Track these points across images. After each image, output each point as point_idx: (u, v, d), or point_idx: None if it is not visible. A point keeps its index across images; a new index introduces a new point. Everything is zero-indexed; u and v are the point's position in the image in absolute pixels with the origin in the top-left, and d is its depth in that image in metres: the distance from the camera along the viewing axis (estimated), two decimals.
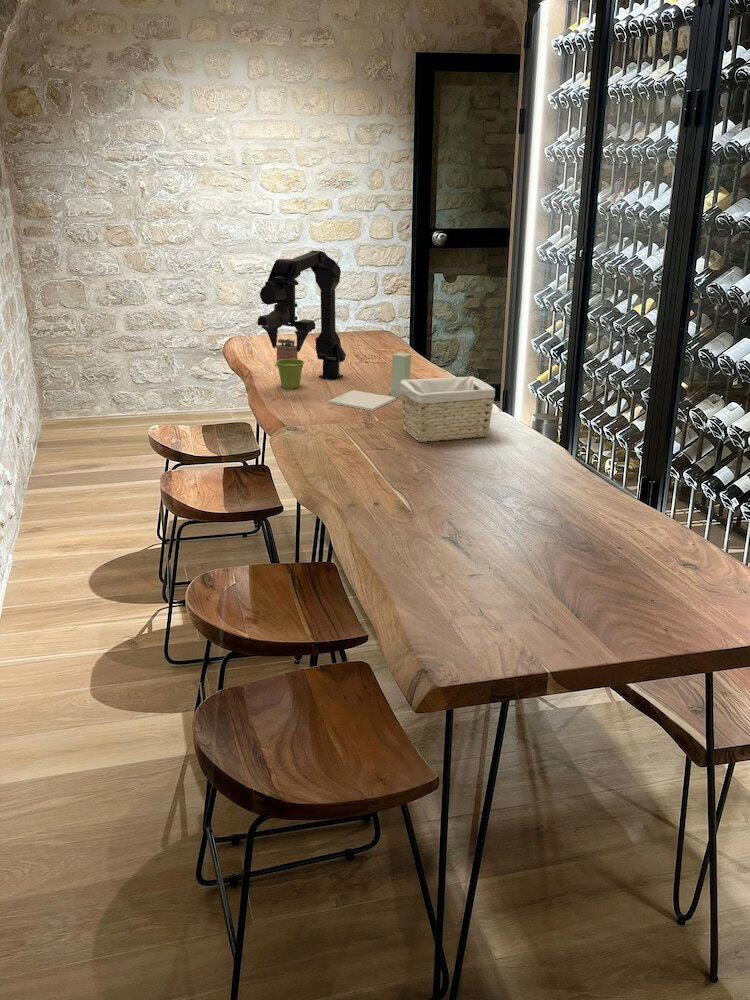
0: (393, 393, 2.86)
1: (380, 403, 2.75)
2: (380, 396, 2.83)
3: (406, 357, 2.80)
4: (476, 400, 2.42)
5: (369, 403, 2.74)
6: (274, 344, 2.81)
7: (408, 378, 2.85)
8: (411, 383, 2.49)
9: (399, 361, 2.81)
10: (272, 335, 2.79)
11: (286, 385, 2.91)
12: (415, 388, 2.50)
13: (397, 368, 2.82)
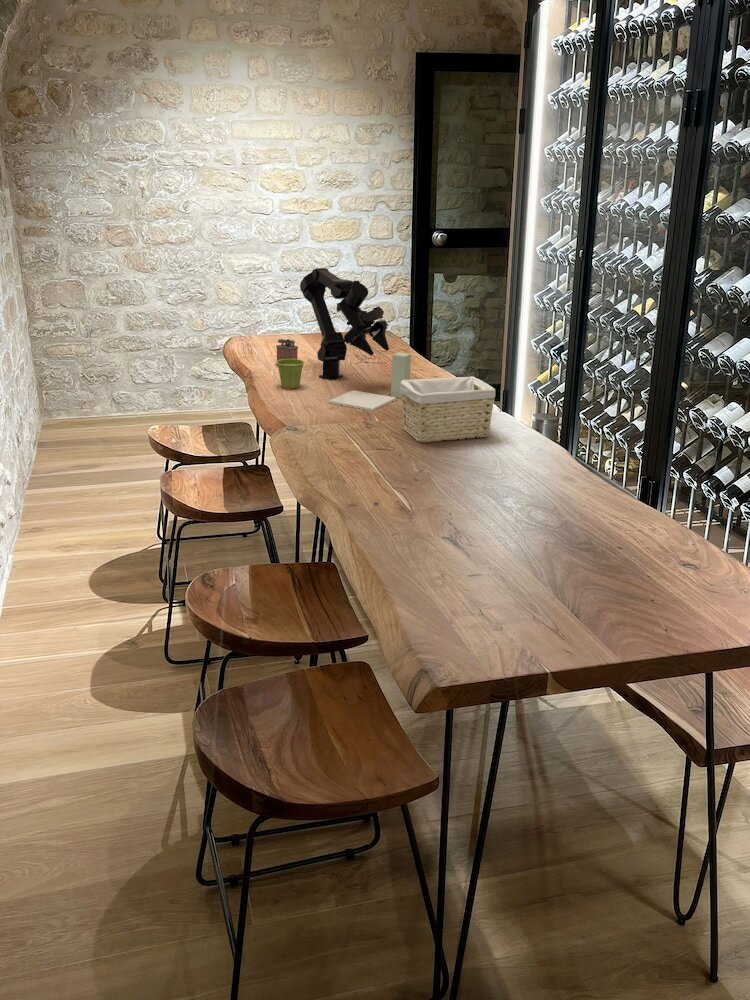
0: (393, 393, 2.86)
1: (380, 403, 2.75)
2: (380, 396, 2.83)
3: (406, 357, 2.80)
4: (476, 400, 2.42)
5: (369, 403, 2.74)
6: None
7: (408, 378, 2.85)
8: (411, 383, 2.49)
9: (399, 361, 2.81)
10: None
11: (286, 385, 2.91)
12: (415, 388, 2.49)
13: (397, 368, 2.82)
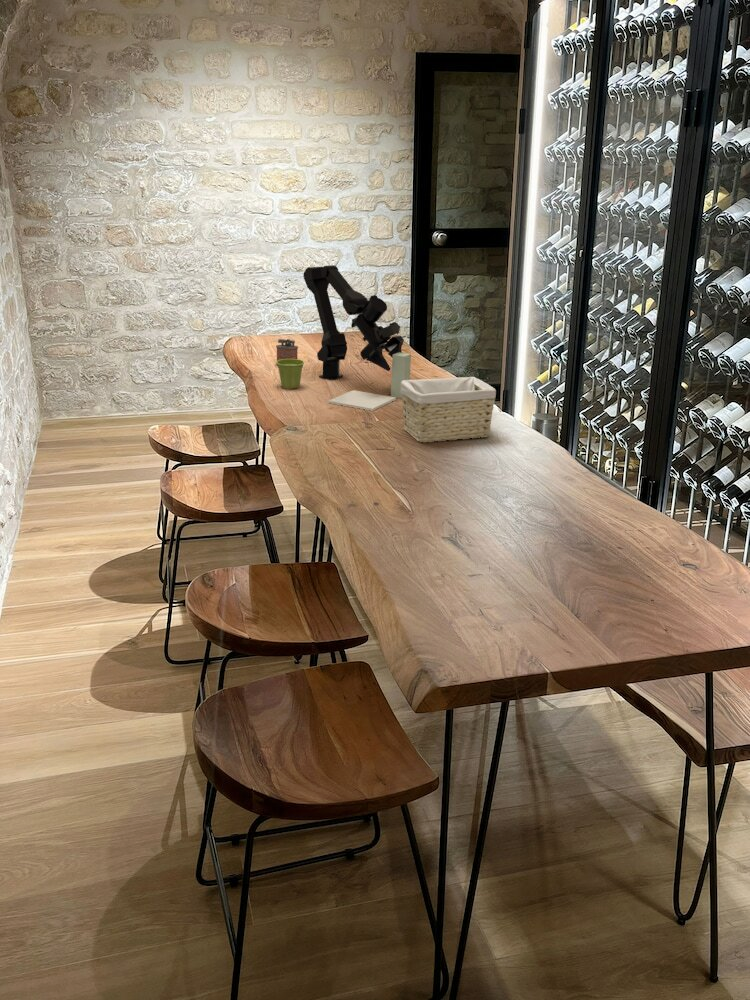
0: (393, 393, 2.86)
1: (380, 403, 2.75)
2: (380, 396, 2.83)
3: (406, 357, 2.80)
4: (477, 400, 2.42)
5: (369, 403, 2.74)
6: None
7: (408, 378, 2.85)
8: (412, 383, 2.49)
9: (399, 361, 2.81)
10: None
11: (286, 385, 2.91)
12: (416, 388, 2.49)
13: (397, 368, 2.82)
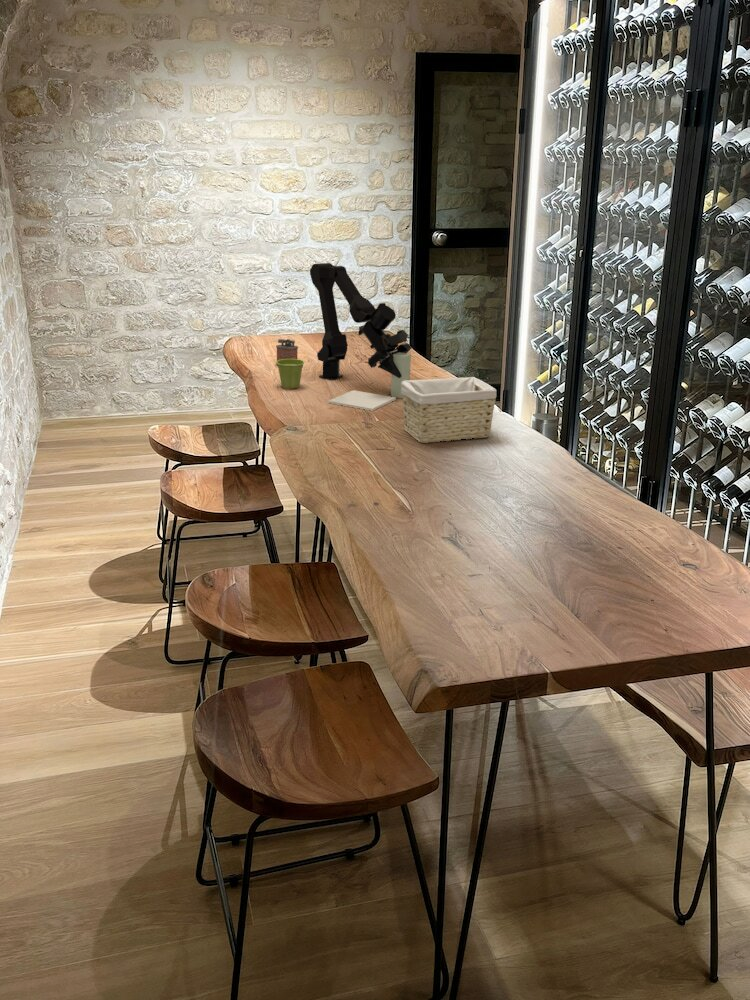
0: (393, 393, 2.86)
1: (380, 403, 2.75)
2: (380, 396, 2.83)
3: (406, 357, 2.80)
4: (477, 401, 2.41)
5: (369, 403, 2.74)
6: None
7: (408, 378, 2.85)
8: (412, 384, 2.48)
9: (399, 361, 2.81)
10: None
11: (286, 385, 2.91)
12: (416, 389, 2.49)
13: None
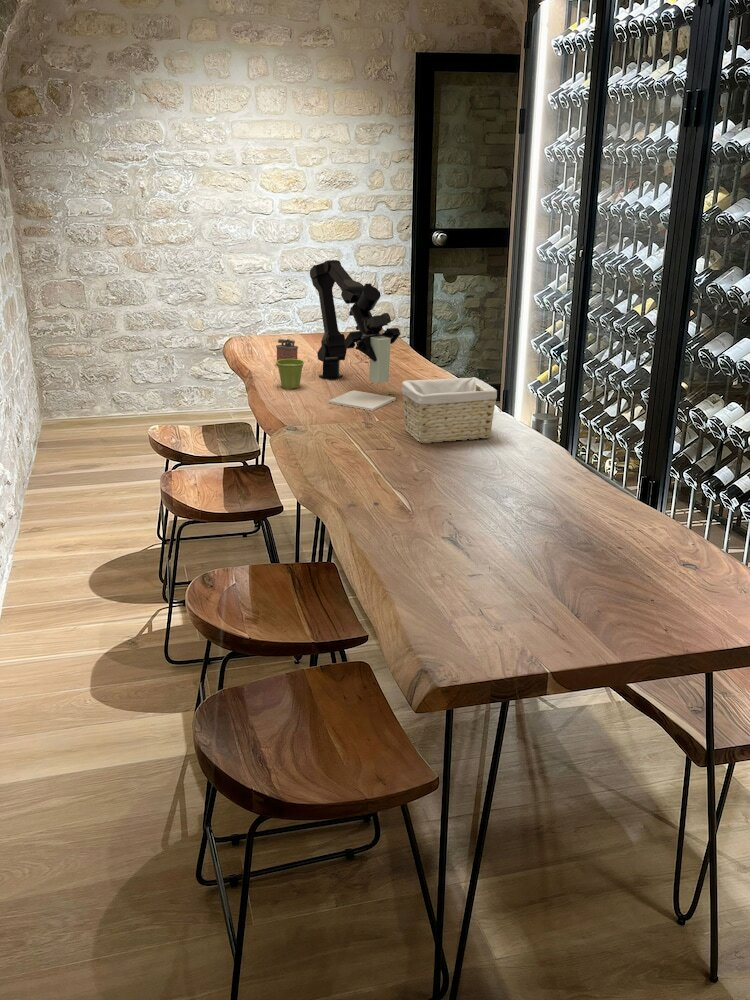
0: (371, 377, 2.79)
1: (380, 403, 2.75)
2: (380, 396, 2.83)
3: (382, 341, 2.72)
4: (478, 401, 2.41)
5: (369, 403, 2.74)
6: None
7: (387, 363, 2.76)
8: (413, 384, 2.48)
9: (375, 344, 2.73)
10: None
11: (286, 385, 2.91)
12: (417, 389, 2.49)
13: (374, 351, 2.75)
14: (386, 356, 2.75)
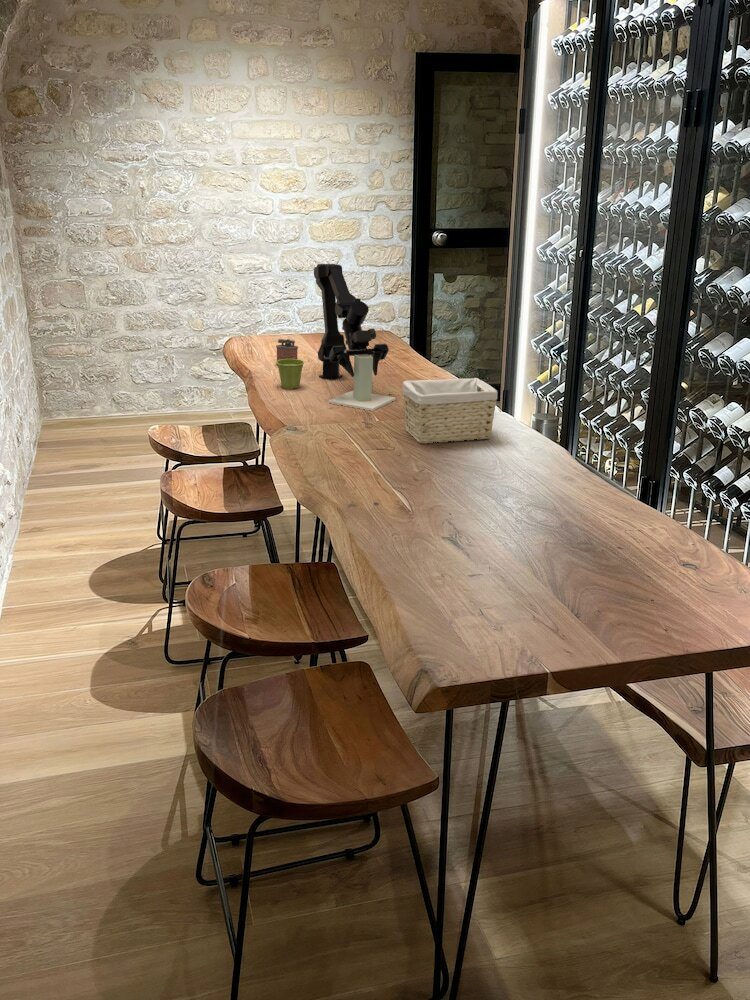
0: (354, 394, 2.79)
1: (380, 403, 2.75)
2: (380, 396, 2.83)
3: (363, 359, 2.72)
4: (478, 402, 2.40)
5: (369, 403, 2.74)
6: None
7: (369, 382, 2.76)
8: (414, 384, 2.48)
9: (357, 362, 2.74)
10: None
11: (286, 385, 2.91)
12: (418, 389, 2.49)
13: (356, 369, 2.75)
14: (368, 375, 2.75)
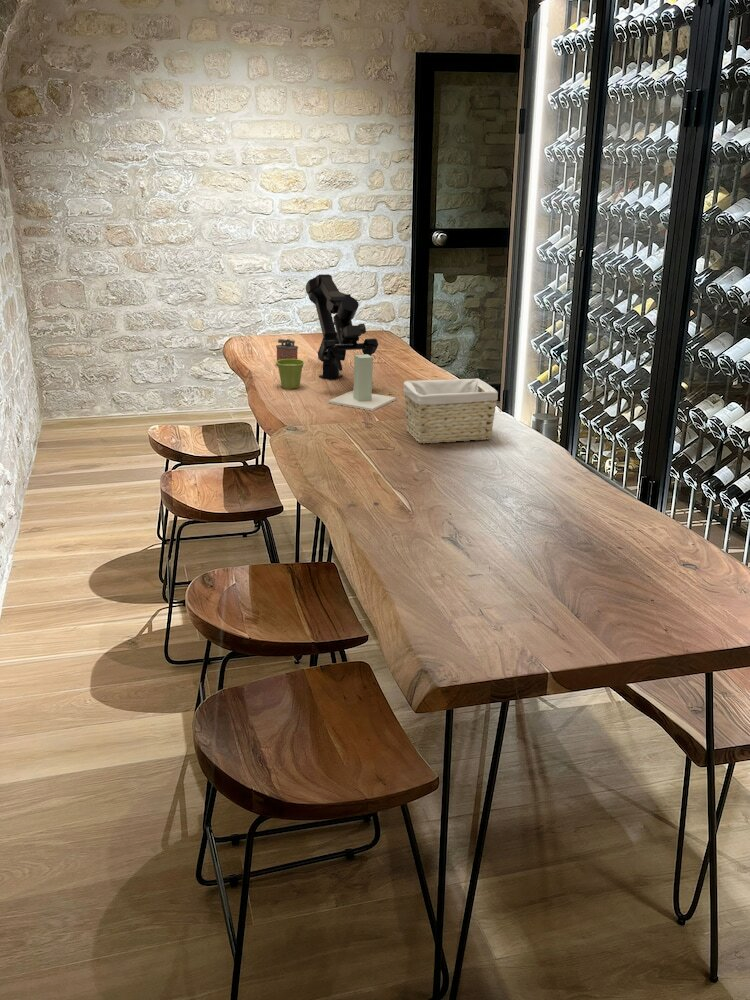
0: (354, 394, 2.79)
1: (380, 403, 2.75)
2: (380, 396, 2.83)
3: (363, 359, 2.72)
4: (478, 402, 2.40)
5: (369, 403, 2.74)
6: None
7: (369, 382, 2.76)
8: (414, 384, 2.48)
9: (357, 362, 2.74)
10: None
11: (286, 385, 2.91)
12: (418, 389, 2.48)
13: (356, 369, 2.75)
14: (368, 375, 2.75)
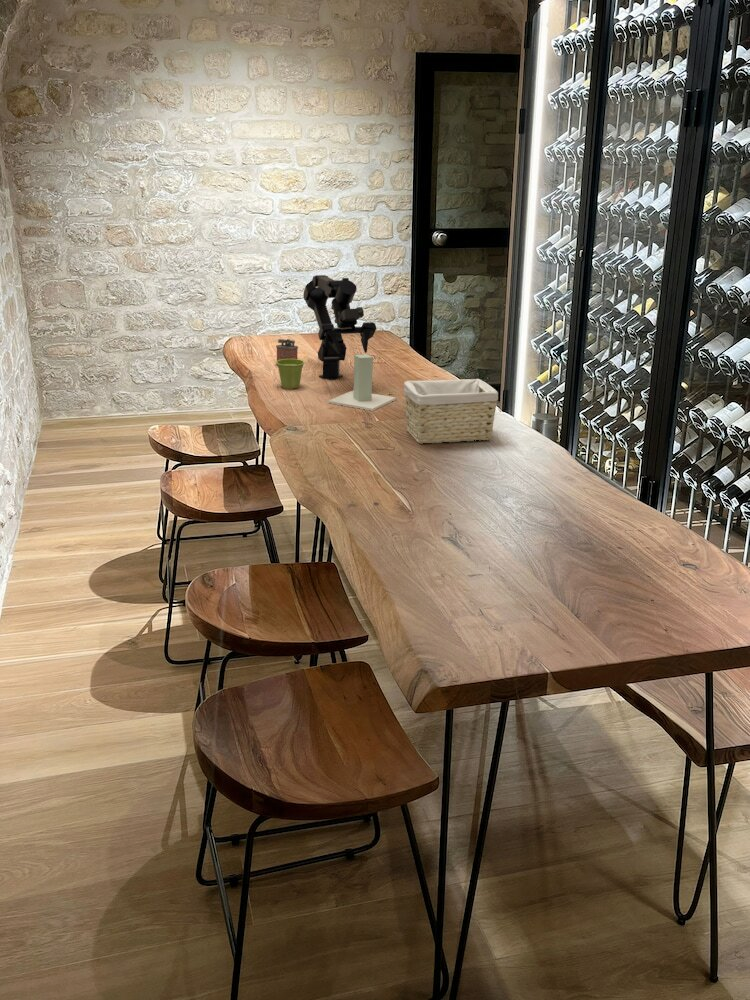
0: (354, 394, 2.79)
1: (380, 403, 2.75)
2: (380, 396, 2.83)
3: (363, 359, 2.72)
4: (478, 403, 2.39)
5: (369, 403, 2.74)
6: None
7: (369, 382, 2.76)
8: (415, 384, 2.48)
9: (357, 362, 2.74)
10: None
11: (286, 385, 2.91)
12: (419, 389, 2.48)
13: (356, 369, 2.75)
14: (368, 375, 2.75)
